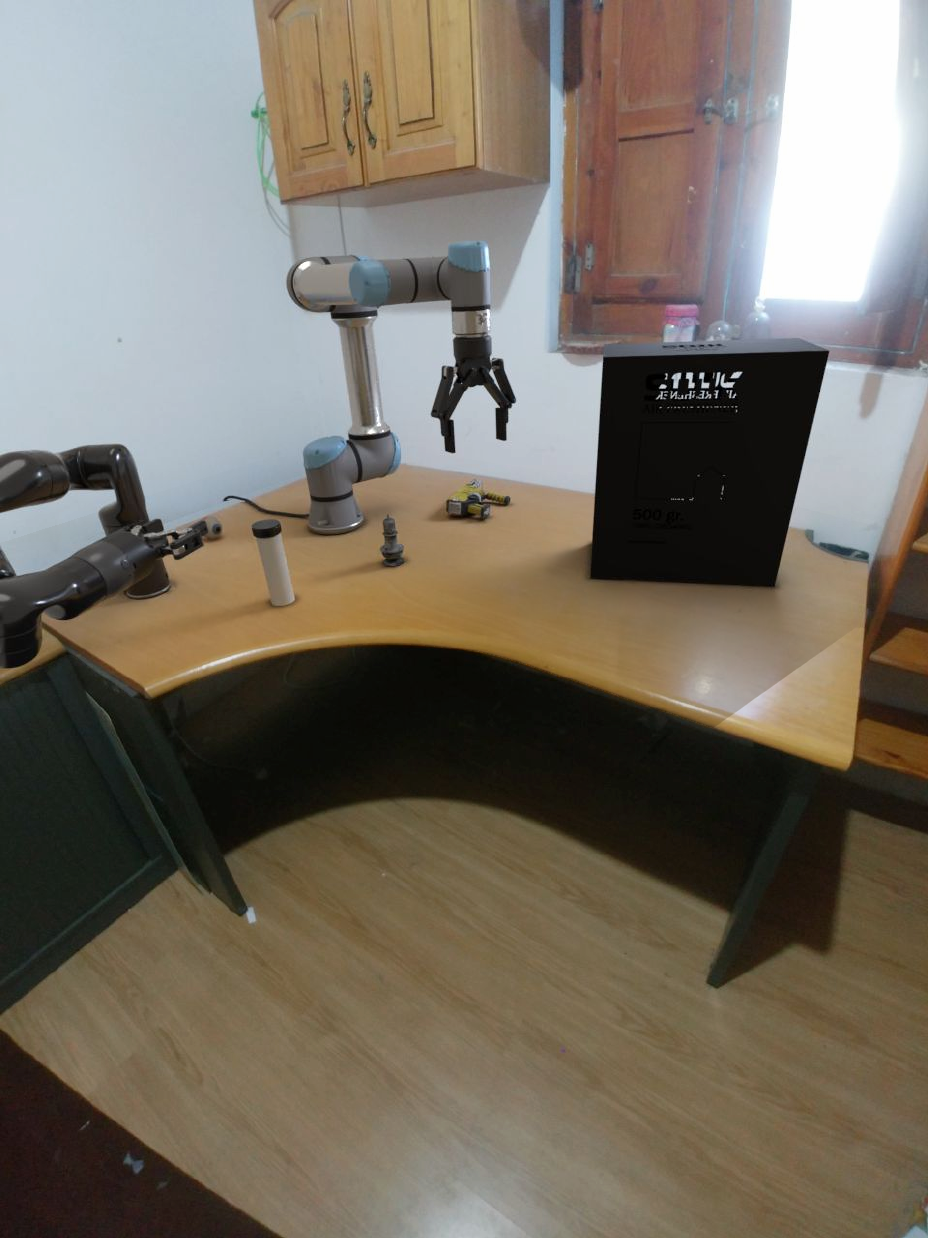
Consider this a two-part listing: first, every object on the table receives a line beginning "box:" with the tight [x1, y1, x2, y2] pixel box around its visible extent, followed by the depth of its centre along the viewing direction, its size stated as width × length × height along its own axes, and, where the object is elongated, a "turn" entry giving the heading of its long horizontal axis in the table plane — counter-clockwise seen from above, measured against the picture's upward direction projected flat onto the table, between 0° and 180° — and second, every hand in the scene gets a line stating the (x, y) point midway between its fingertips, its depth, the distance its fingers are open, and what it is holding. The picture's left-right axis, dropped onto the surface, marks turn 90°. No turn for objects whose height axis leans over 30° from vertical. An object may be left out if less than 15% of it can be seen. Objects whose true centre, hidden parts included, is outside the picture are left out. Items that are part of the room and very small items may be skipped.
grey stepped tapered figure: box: [379, 514, 405, 567], centre depth 143 cm, size 6×6×12 cm
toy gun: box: [445, 478, 511, 520], centre depth 176 cm, size 5×24×15 cm
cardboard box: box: [589, 337, 830, 587], centre depth 126 cm, size 38×20×45 cm, turn 78°
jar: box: [255, 532, 296, 607], centre depth 127 cm, size 5×5×17 cm
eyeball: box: [200, 516, 223, 540], centre depth 164 cm, size 6×6×6 cm
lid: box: [251, 518, 283, 538], centre depth 123 cm, size 6×6×2 cm
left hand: (182, 525), depth 99 cm, fingers open, 8 cm apart
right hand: (476, 445), depth 127 cm, fingers open, 13 cm apart
